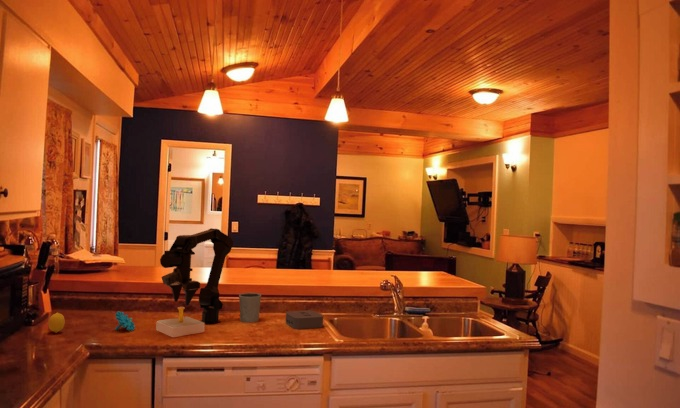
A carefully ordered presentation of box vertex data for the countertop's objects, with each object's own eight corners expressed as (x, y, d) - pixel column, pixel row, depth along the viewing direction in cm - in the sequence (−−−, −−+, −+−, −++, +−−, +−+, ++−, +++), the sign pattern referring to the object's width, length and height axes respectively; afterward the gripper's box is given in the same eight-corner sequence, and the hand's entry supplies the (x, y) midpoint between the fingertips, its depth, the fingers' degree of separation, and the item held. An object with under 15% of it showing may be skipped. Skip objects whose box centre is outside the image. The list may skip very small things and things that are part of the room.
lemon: (67, 332, 189) (68, 312, 189) (53, 335, 184) (55, 314, 184) (58, 330, 191) (59, 310, 191) (44, 333, 186) (45, 312, 186)
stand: (187, 325, 209) (187, 316, 209) (204, 331, 199) (204, 322, 199) (156, 330, 199) (156, 320, 199) (172, 337, 189) (173, 327, 189)
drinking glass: (264, 320, 224) (265, 294, 225) (249, 324, 216) (250, 297, 216) (248, 317, 230) (249, 292, 230) (233, 320, 221) (234, 294, 222)
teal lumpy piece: (129, 329, 191) (113, 310, 192) (117, 340, 190) (102, 320, 192) (141, 327, 202) (126, 309, 203) (130, 336, 201) (115, 318, 203)
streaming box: (324, 328, 216) (325, 316, 216) (294, 330, 210) (295, 318, 210) (312, 320, 229) (312, 310, 229) (283, 322, 223) (284, 311, 223)
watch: (184, 323, 197) (185, 309, 196) (177, 323, 196) (178, 309, 195) (183, 319, 202) (184, 305, 202) (176, 319, 201) (177, 305, 201)
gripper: (154, 264, 200) (152, 301, 200) (176, 269, 187) (174, 309, 187) (179, 263, 208) (177, 299, 208) (201, 268, 195) (199, 306, 195)
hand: (181, 303), depth 199 cm, fingers open, 9 cm apart
